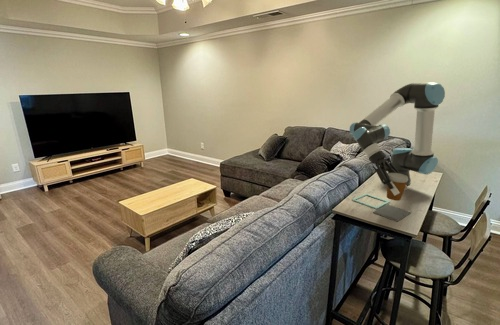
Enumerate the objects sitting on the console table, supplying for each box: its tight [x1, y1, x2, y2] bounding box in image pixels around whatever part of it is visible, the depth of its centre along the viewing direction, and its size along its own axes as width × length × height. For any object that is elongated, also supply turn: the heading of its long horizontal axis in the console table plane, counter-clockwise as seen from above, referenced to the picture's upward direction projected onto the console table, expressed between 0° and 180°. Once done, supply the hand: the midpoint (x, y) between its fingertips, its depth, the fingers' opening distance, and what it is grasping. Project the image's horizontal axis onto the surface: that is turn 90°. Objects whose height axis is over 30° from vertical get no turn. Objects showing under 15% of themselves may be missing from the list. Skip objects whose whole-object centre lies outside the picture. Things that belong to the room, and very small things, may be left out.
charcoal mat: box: [372, 203, 412, 223], centre depth 134 cm, size 15×12×1 cm
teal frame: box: [351, 193, 391, 210], centre depth 148 cm, size 14×14×1 cm
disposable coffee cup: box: [386, 172, 408, 201], centre depth 130 cm, size 10×10×12 cm
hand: (401, 192), depth 128 cm, fingers closed on disposable coffee cup, 9 cm apart
